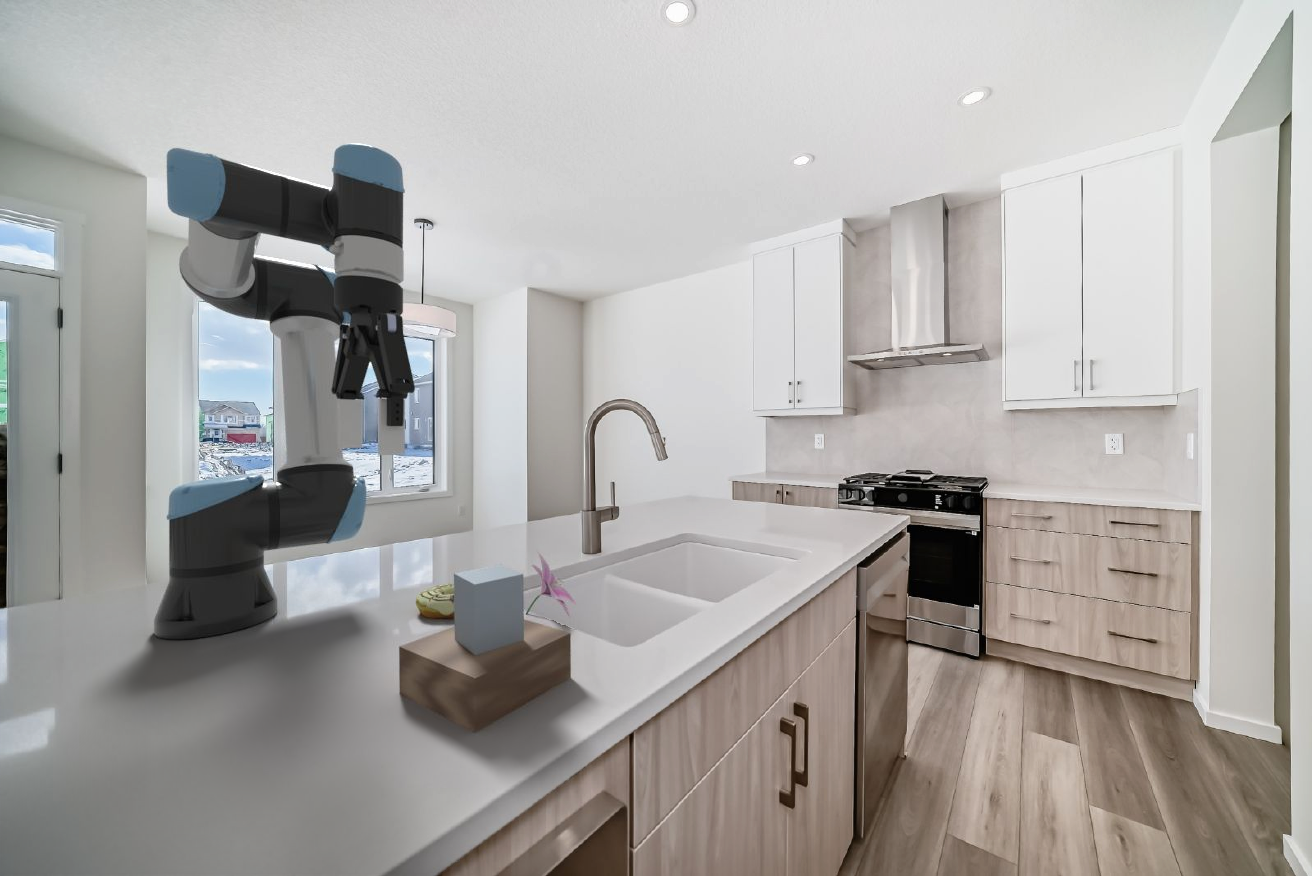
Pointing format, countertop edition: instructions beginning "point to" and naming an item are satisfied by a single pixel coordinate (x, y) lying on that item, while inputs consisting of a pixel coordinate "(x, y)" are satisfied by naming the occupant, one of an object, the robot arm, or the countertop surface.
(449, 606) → the decorated donut
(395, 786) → the countertop surface
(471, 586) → the slate block
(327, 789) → the countertop surface
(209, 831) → the countertop surface
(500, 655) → the walnut block
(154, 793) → the countertop surface
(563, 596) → the lily
